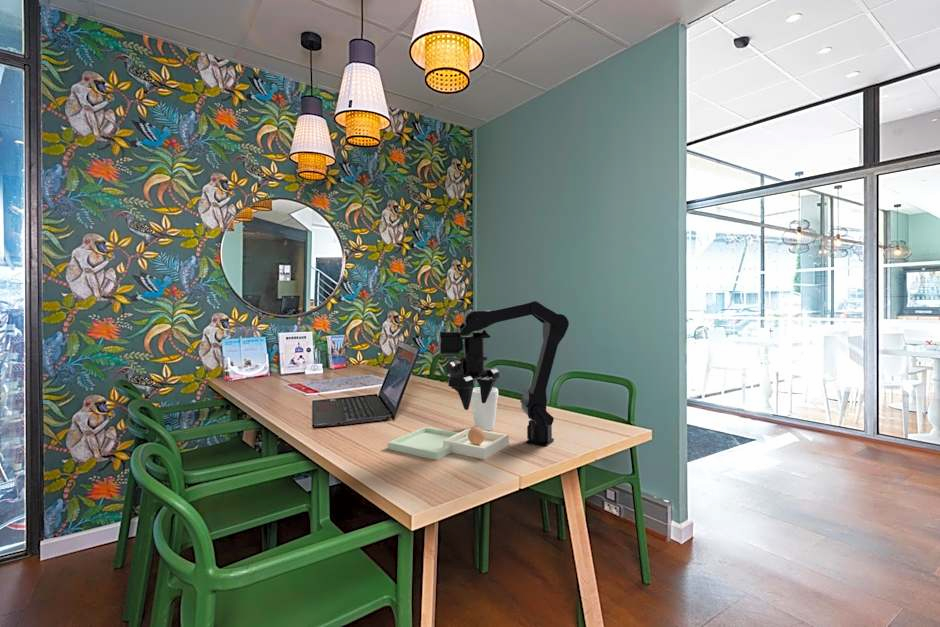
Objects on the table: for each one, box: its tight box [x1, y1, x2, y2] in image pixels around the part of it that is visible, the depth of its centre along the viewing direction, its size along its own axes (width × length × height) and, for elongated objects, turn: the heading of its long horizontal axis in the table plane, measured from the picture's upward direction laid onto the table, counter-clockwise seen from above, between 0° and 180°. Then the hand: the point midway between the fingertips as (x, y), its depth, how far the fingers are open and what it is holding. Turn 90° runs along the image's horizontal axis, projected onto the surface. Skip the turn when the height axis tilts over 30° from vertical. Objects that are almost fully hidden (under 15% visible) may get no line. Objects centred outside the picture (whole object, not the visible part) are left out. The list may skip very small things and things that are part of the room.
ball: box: [468, 426, 485, 445], centre depth 132 cm, size 5×5×5 cm
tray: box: [387, 426, 469, 461], centre depth 135 cm, size 18×18×2 cm
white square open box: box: [443, 427, 510, 460], centre depth 132 cm, size 14×14×3 cm
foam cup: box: [470, 386, 499, 431], centre depth 151 cm, size 10×9×13 cm
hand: (475, 406), depth 133 cm, fingers open, 9 cm apart
